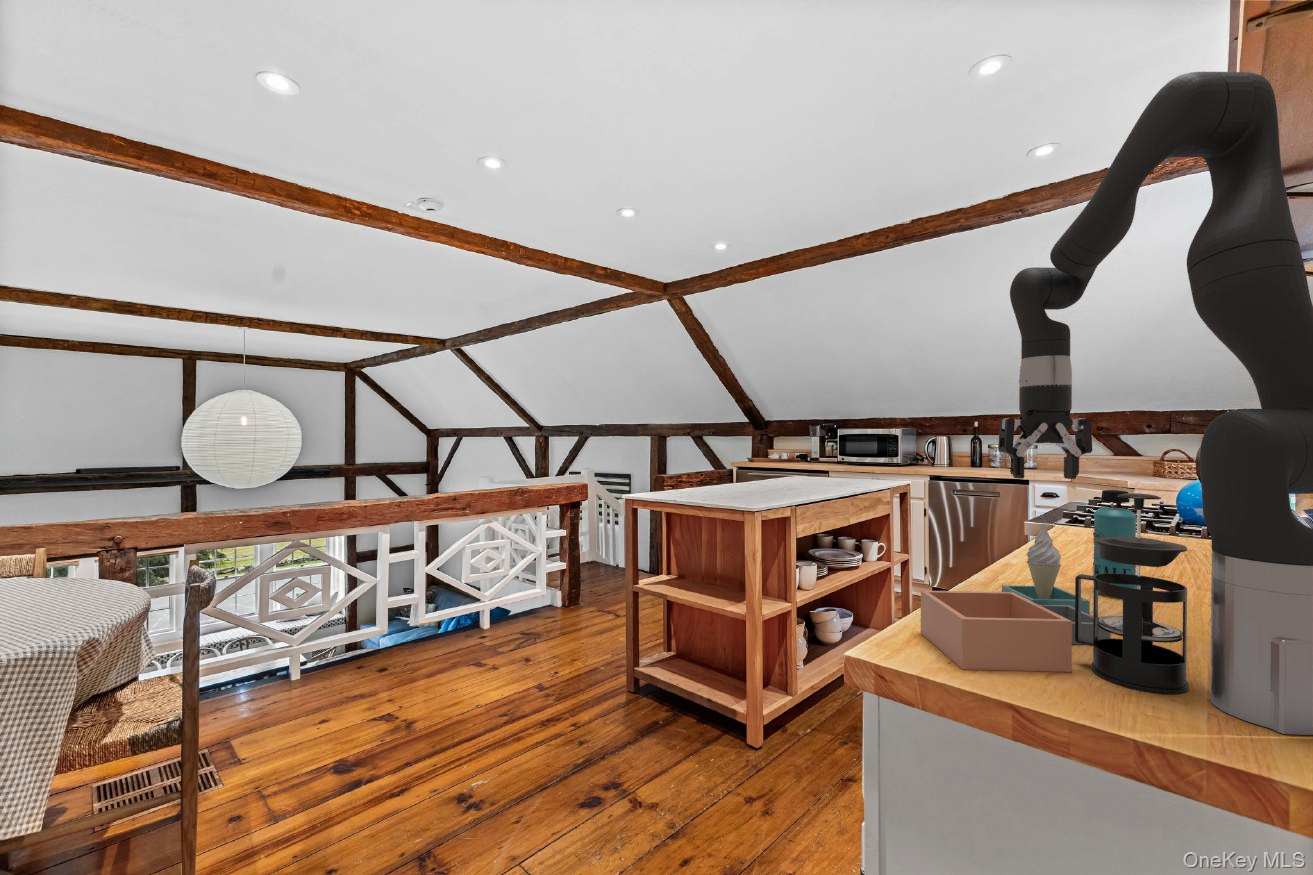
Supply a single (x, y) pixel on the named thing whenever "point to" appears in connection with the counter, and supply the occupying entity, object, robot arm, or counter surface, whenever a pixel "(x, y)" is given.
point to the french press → (1137, 615)
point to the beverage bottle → (1113, 533)
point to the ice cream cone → (1043, 564)
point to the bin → (996, 631)
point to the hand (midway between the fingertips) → (1044, 478)
